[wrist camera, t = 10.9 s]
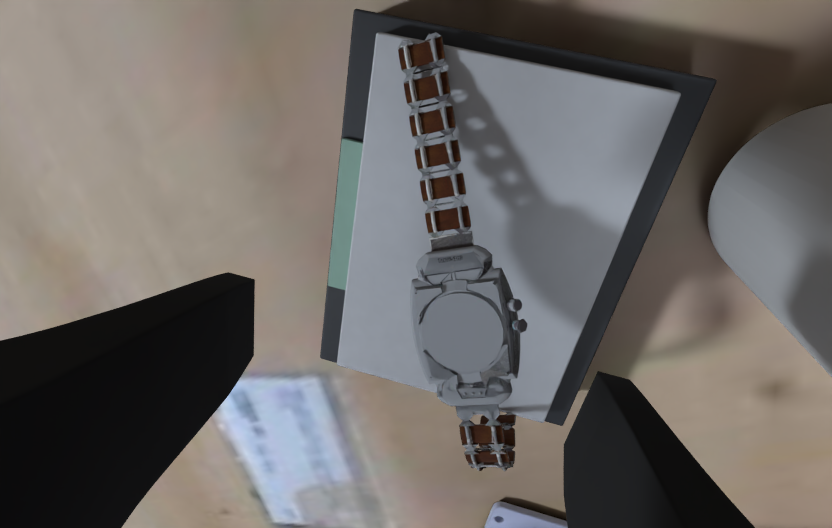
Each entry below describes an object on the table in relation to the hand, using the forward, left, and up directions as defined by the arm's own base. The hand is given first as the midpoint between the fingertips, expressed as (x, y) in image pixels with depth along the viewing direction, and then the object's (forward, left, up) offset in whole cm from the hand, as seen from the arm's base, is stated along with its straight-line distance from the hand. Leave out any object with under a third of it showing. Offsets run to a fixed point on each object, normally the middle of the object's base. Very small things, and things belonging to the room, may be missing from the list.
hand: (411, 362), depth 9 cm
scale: (-1, -1, -10) cm, 10 cm away
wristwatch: (-1, -1, -8) cm, 8 cm away
